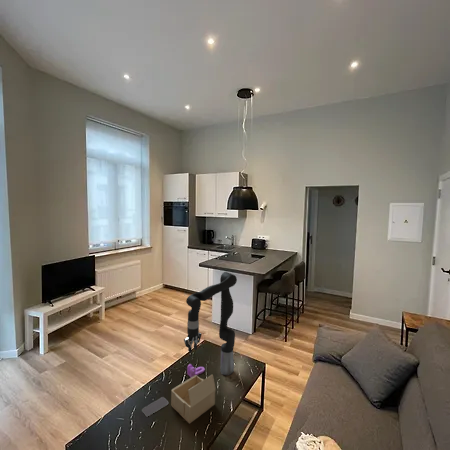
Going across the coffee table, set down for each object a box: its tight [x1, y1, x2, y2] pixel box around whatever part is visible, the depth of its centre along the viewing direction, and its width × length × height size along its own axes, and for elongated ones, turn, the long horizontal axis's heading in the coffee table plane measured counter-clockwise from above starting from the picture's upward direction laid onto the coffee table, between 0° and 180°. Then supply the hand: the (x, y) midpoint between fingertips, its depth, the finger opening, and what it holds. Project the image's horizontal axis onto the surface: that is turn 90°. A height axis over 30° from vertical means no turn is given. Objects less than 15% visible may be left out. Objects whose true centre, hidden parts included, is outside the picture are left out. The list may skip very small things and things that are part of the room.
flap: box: [188, 374, 217, 407], centre depth 150 cm, size 19×9×1 cm
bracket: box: [186, 363, 206, 378], centre depth 187 cm, size 13×6×7 cm, turn 128°
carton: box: [170, 375, 216, 425], centre depth 157 cm, size 21×19×10 cm
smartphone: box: [141, 396, 169, 418], centre depth 155 cm, size 7×1×15 cm
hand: (192, 350), depth 168 cm, fingers open, 3 cm apart
